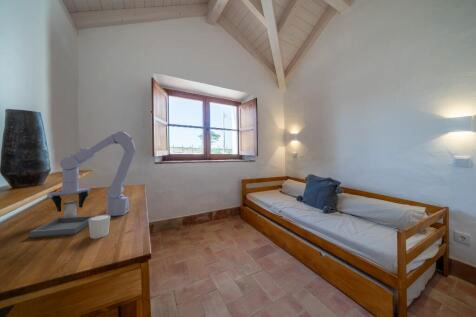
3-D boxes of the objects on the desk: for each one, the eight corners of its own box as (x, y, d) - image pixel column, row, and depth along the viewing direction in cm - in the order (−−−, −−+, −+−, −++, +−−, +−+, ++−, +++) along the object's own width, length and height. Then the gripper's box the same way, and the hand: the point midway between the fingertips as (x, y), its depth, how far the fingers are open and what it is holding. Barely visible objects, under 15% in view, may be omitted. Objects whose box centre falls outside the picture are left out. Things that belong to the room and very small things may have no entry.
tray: (95, 220, 79) (95, 215, 79) (75, 234, 66) (75, 228, 66) (58, 223, 76) (58, 217, 76) (29, 238, 62) (29, 231, 62)
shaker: (79, 215, 85) (79, 200, 84) (72, 219, 80) (73, 203, 80) (68, 216, 83) (68, 200, 83) (61, 220, 79) (61, 203, 79)
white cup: (85, 240, 62) (85, 222, 62) (91, 232, 68) (91, 215, 68) (108, 237, 65) (108, 219, 65) (111, 229, 71) (112, 213, 71)
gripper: (86, 179, 90) (85, 204, 90) (46, 182, 77) (45, 211, 77) (92, 180, 86) (91, 206, 86) (50, 184, 73) (50, 214, 74)
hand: (70, 209), depth 82 cm, fingers open, 7 cm apart
